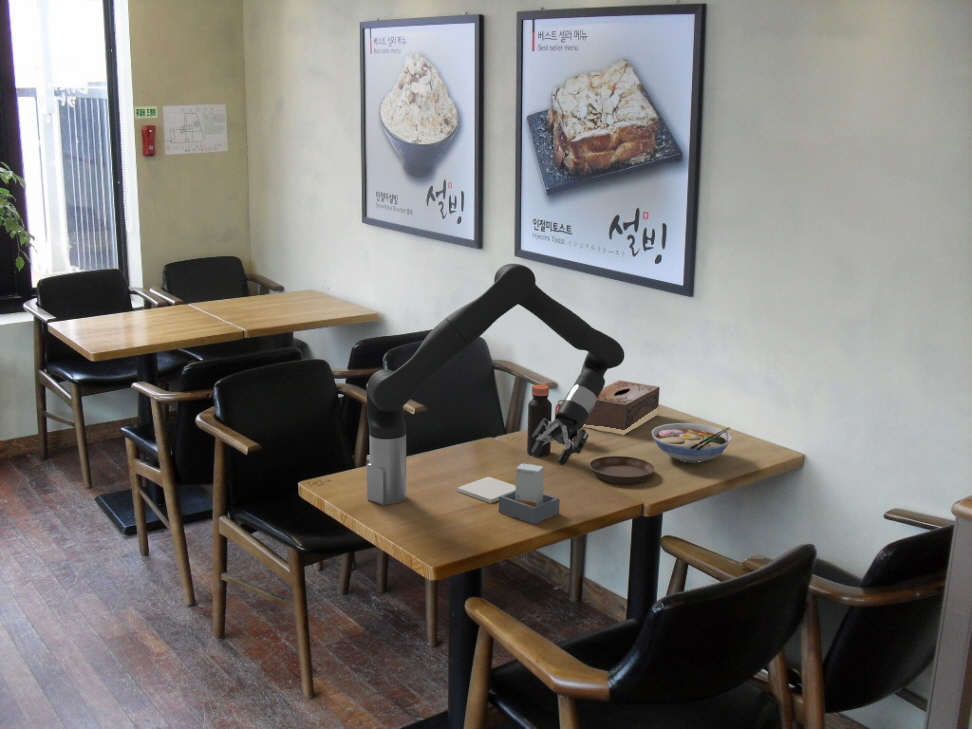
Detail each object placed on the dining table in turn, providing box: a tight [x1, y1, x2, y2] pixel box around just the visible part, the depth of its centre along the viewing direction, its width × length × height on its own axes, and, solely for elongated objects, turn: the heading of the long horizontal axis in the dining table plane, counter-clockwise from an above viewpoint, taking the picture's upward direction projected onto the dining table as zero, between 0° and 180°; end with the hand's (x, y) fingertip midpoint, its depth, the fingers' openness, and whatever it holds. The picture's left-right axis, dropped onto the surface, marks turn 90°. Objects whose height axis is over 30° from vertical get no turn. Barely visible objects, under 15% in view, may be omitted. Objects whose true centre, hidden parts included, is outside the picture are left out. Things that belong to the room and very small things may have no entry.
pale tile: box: [456, 476, 516, 504], centre depth 283 cm, size 12×12×1 cm
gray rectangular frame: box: [498, 490, 560, 525], centre depth 269 cm, size 10×12×4 cm
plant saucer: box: [588, 455, 655, 485], centre depth 297 cm, size 18×18×3 cm
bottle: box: [526, 384, 553, 457], centre depth 312 cm, size 7×7×20 cm
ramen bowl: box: [650, 422, 733, 463], centre depth 310 cm, size 25×23×8 cm
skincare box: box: [515, 463, 545, 507], centre depth 268 cm, size 6×4×12 cm
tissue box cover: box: [584, 380, 660, 430], centre depth 345 cm, size 26×14×10 cm, turn 148°
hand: (546, 460), depth 271 cm, fingers open, 8 cm apart
